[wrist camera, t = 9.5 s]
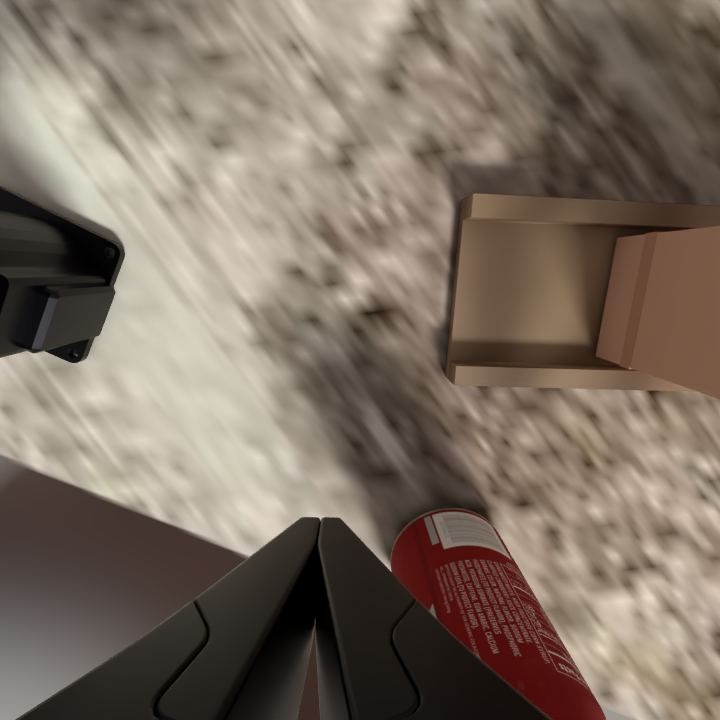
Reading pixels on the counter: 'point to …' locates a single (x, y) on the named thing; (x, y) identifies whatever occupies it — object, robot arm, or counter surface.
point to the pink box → (666, 307)
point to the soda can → (490, 608)
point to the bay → (546, 288)
